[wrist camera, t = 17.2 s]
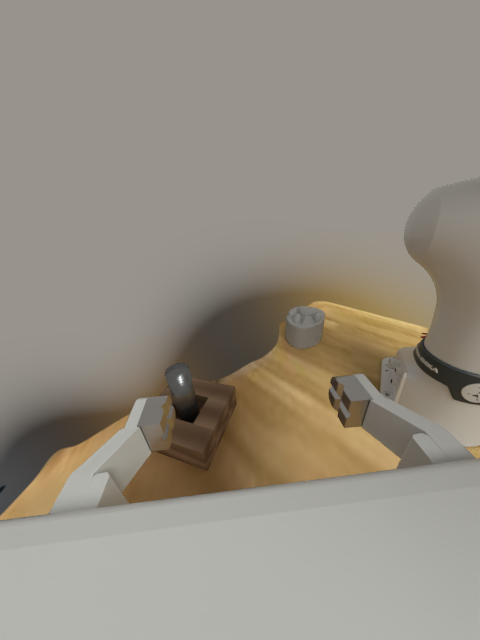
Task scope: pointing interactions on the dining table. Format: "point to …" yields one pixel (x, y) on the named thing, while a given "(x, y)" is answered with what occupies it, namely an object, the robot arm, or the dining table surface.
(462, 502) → the robot arm
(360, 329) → the dining table surface
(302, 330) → the lumpy-topped squat cylinder
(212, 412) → the socket block
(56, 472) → the dining table surface
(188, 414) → the dark grey rounded rod
